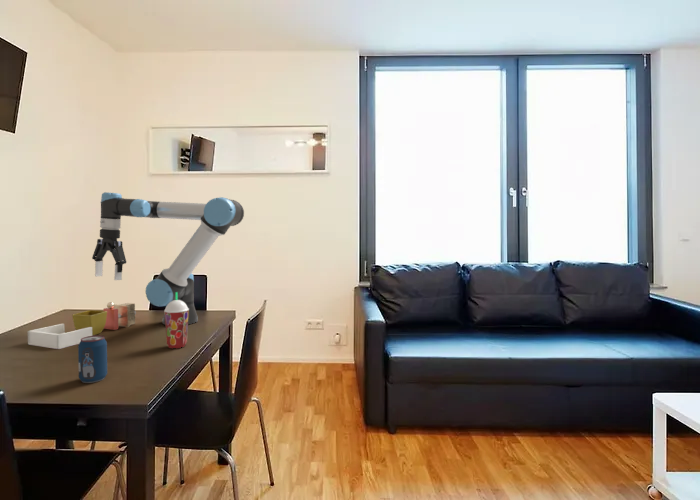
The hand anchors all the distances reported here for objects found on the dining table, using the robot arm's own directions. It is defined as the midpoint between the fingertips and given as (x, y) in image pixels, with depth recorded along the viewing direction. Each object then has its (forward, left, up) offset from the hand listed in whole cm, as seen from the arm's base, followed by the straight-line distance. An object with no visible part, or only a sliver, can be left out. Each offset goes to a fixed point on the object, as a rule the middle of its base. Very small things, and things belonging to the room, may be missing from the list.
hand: (108, 278), depth 178 cm
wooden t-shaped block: (-4, -3, -21) cm, 22 cm away
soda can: (-50, +47, -22) cm, 72 cm away
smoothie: (-48, +12, -22) cm, 54 cm away
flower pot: (-4, +12, -22) cm, 25 cm away
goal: (-4, +23, -22) cm, 32 cm away
